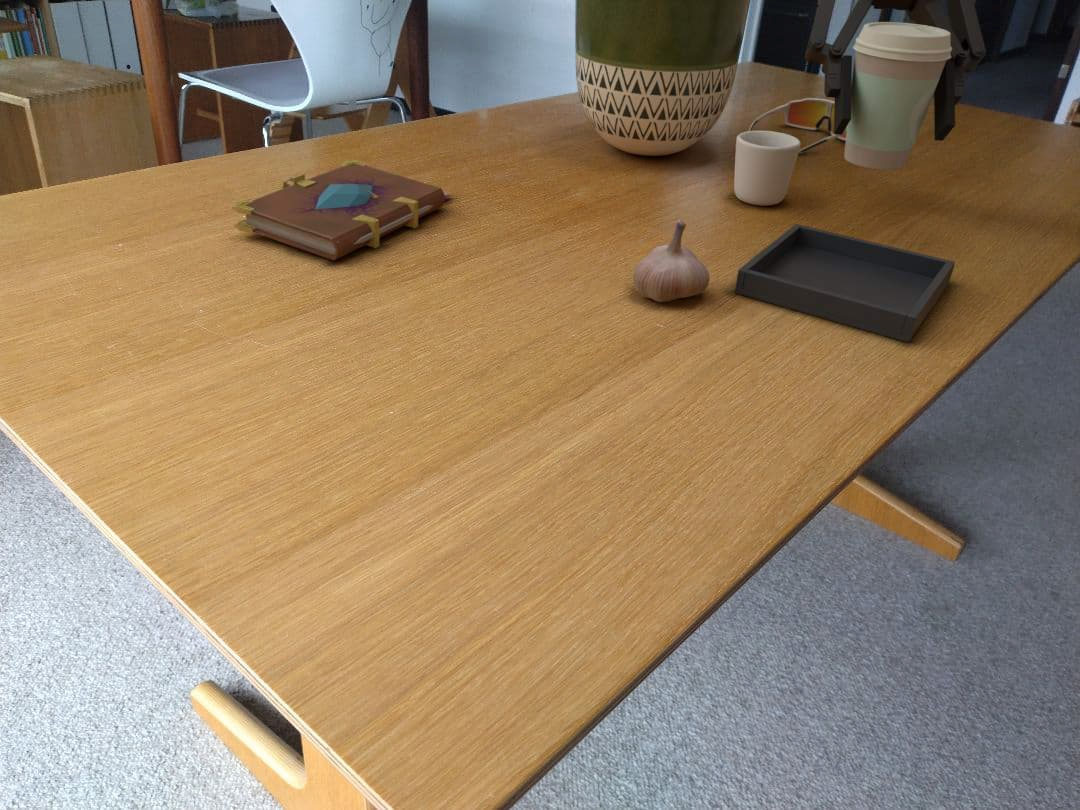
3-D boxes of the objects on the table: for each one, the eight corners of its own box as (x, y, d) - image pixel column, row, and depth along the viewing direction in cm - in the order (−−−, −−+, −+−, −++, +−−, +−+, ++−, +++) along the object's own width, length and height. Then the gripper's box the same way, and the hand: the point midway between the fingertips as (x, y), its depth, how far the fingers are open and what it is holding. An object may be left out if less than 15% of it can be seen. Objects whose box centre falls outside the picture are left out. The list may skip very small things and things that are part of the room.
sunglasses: (865, 140, 140) (870, 109, 137) (807, 170, 133) (811, 138, 130) (792, 120, 149) (795, 91, 146) (734, 147, 142) (736, 117, 139)
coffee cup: (912, 180, 80) (950, 41, 74) (819, 164, 84) (848, 29, 77) (927, 158, 87) (963, 28, 80) (840, 143, 90) (868, 17, 84)
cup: (745, 180, 122) (755, 122, 117) (802, 191, 118) (814, 132, 114) (718, 202, 114) (728, 140, 109) (778, 215, 110) (790, 151, 106)
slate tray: (948, 284, 94) (955, 261, 93) (908, 342, 82) (915, 317, 81) (791, 244, 102) (795, 223, 101) (734, 293, 90) (738, 269, 89)
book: (467, 207, 111) (468, 169, 108) (338, 274, 93) (335, 229, 90) (365, 176, 117) (364, 139, 114) (224, 233, 99) (219, 190, 96)
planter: (680, 124, 146) (701, -59, 131) (760, 168, 127) (796, -40, 112) (542, 133, 138) (549, -60, 124) (606, 181, 119) (623, -40, 105)
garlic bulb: (713, 289, 91) (725, 215, 87) (694, 317, 85) (705, 239, 81) (644, 274, 93) (652, 202, 89) (621, 301, 88) (628, 224, 83)
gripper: (988, -48, 88) (993, 157, 84) (774, -58, 90) (767, 143, 85) (1025, -106, 81) (1033, 114, 76) (792, -117, 82) (785, 100, 77)
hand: (893, 129), depth 80 cm, fingers closed on coffee cup, 8 cm apart
